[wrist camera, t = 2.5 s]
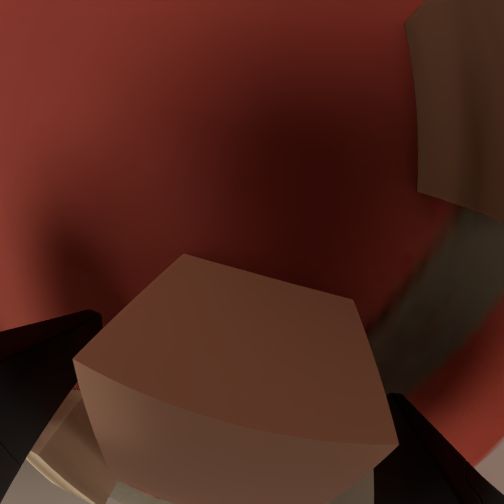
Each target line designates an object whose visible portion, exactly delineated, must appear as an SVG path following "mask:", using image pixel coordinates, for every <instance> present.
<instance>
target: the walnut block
mask: <svg viewBox="0 0 504 504" xmlns="http://www.w3.org/2000/svg"><path fill="white" fill-rule="evenodd" d="M404 27H405V31H406V36H407V41H408V46H409V52H410V58H411V65H412V72H413V79H414V88H415V98H416V111H417V129H418V181H417V192H420V193H423V194H426V195H429V196H432V197H436V198H439V199H442V200H445V201H448V202H451V203H453V204H456V205H459V206H462V207H465V208H468V209H470V210H473V211H476V212H478V213H481V214H483V215H486V216H489V217H491V218H494V219H496V220H498V221H501V222H503V223H504V0H425V1H424V2H423V3H422V4H421V5H420V6H419V8H418V9H417V10H416V11H415V12H414V13H413V14H412V16H411V17H410V18H409V19H408V20H407V21H406V23H405V24H404Z"/></svg>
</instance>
